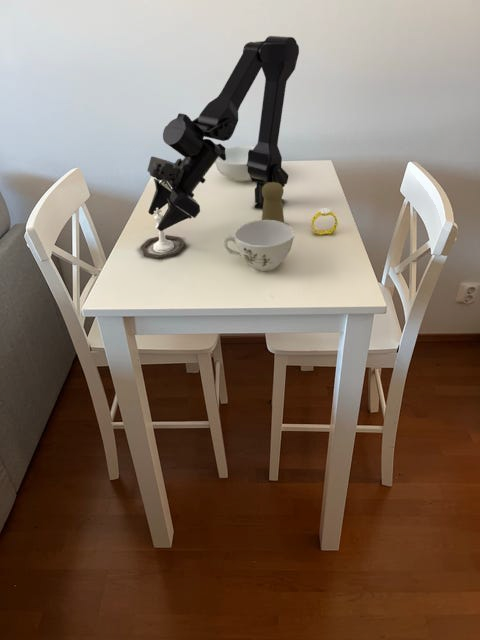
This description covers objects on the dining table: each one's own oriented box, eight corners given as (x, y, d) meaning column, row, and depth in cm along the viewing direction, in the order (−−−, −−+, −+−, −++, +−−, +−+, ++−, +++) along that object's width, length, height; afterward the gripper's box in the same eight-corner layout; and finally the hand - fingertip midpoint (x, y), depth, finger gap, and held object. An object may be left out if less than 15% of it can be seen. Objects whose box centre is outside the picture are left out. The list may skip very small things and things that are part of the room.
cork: (288, 223, 118) (289, 181, 111) (279, 233, 114) (279, 190, 107) (266, 219, 120) (265, 178, 113) (256, 229, 116) (255, 187, 109)
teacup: (294, 250, 107) (295, 218, 102) (292, 280, 97) (293, 246, 92) (230, 249, 109) (227, 217, 104) (221, 278, 99) (218, 245, 94)
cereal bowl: (271, 186, 137) (271, 162, 133) (215, 188, 138) (213, 165, 133) (269, 166, 150) (269, 143, 146) (218, 168, 151) (216, 146, 147)
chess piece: (176, 249, 110) (170, 209, 104) (156, 254, 109) (149, 214, 102) (170, 240, 114) (164, 201, 107) (151, 245, 112) (143, 206, 106)
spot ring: (191, 241, 113) (190, 238, 113) (171, 261, 106) (171, 259, 105) (155, 235, 116) (154, 233, 116) (133, 254, 109) (133, 252, 109)
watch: (335, 230, 114) (337, 207, 110) (337, 235, 112) (339, 212, 108) (310, 231, 114) (311, 208, 110) (312, 236, 112) (313, 213, 108)
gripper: (156, 131, 104) (117, 187, 108) (178, 156, 91) (132, 219, 94) (193, 160, 111) (155, 212, 115) (219, 187, 97) (175, 245, 101)
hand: (154, 221), depth 106 cm, fingers open, 9 cm apart
